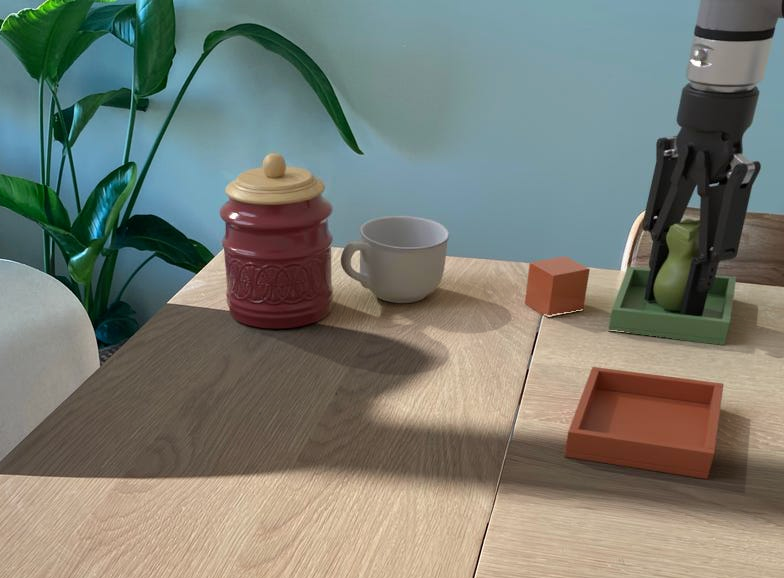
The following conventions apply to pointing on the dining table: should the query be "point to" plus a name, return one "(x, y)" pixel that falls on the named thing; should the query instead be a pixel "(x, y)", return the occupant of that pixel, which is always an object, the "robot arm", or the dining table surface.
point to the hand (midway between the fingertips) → (672, 307)
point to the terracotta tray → (646, 422)
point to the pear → (677, 264)
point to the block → (556, 285)
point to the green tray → (658, 321)
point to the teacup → (399, 257)
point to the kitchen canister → (277, 246)
